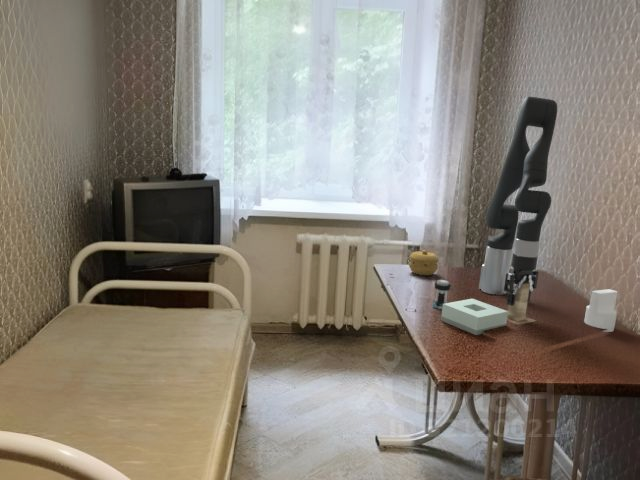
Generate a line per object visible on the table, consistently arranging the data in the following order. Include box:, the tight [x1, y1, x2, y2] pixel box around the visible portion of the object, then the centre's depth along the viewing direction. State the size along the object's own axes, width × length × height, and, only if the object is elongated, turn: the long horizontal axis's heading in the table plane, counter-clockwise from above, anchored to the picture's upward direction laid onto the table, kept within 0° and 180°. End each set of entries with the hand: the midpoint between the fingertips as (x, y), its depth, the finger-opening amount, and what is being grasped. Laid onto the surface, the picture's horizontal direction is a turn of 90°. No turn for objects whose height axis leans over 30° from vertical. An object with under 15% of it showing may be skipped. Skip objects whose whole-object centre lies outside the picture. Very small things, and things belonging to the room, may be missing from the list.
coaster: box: [507, 316, 537, 326], centre depth 194 cm, size 9×9×1 cm
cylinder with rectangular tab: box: [583, 288, 619, 333], centre depth 193 cm, size 9×9×12 cm
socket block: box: [440, 298, 508, 336], centre depth 187 cm, size 14×14×6 cm
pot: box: [408, 249, 439, 276], centre depth 245 cm, size 12×12×10 cm
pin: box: [507, 282, 530, 321], centre depth 192 cm, size 4×4×12 cm
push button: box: [432, 279, 452, 310], centre depth 198 cm, size 7×5×10 cm
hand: (518, 303), depth 192 cm, fingers open, 7 cm apart
